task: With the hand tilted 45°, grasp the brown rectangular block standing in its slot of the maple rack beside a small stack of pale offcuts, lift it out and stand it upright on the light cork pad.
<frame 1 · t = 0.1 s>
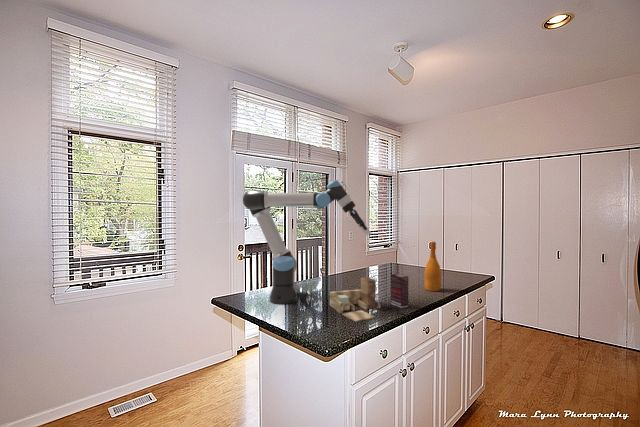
hand: (367, 233, 199), 36 cm above the counter, tool tilted 35°, fingers open, 13 cm apart
sage offcut: (343, 302, 172), point 3 cm above the counter, touching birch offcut
cork pad: (358, 316, 160), on the counter
supplement box: (399, 305, 178), on the counter
brown rectangular block: (367, 305, 177), on the counter
rack: (357, 306, 175), on the counter
wine bottle: (432, 290, 211), on the counter
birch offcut: (342, 308, 172), resting in rack, touching sage offcut
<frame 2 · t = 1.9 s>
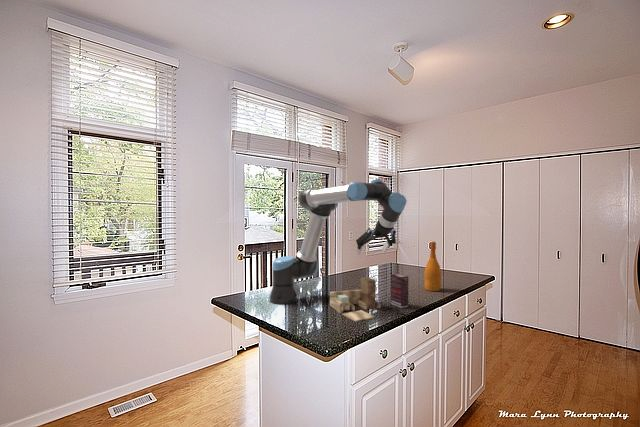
hand: (370, 252, 167), 29 cm above the counter, tool tilted 45°, fingers open, 13 cm apart
nothing on the counter moved.
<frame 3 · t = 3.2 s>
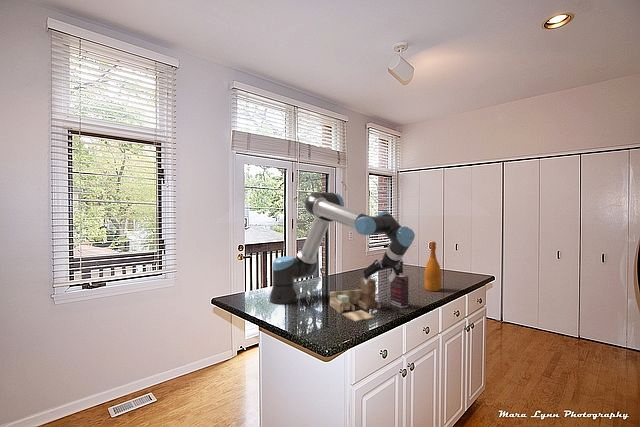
hand: (377, 281, 167), 15 cm above the counter, tool tilted 45°, fingers open, 13 cm apart
nothing on the counter moved.
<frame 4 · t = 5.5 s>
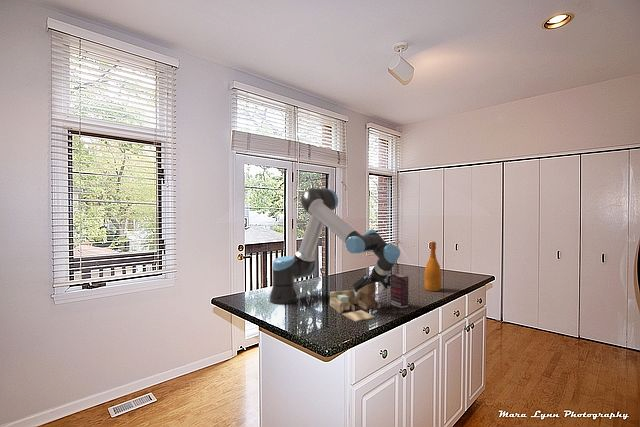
hand: (367, 293, 178), 6 cm above the counter, tool tilted 45°, fingers open, 13 cm apart
nothing on the counter moved.
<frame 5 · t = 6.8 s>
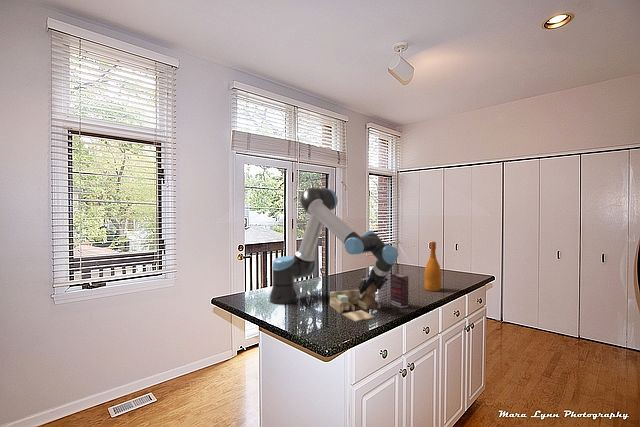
hand: (364, 295, 180), 4 cm above the counter, tool tilted 45°, fingers closed on brown rectangular block, 4 cm apart
brown rectangular block: (367, 305, 177), on the counter, touching gripper
everything else where it was.
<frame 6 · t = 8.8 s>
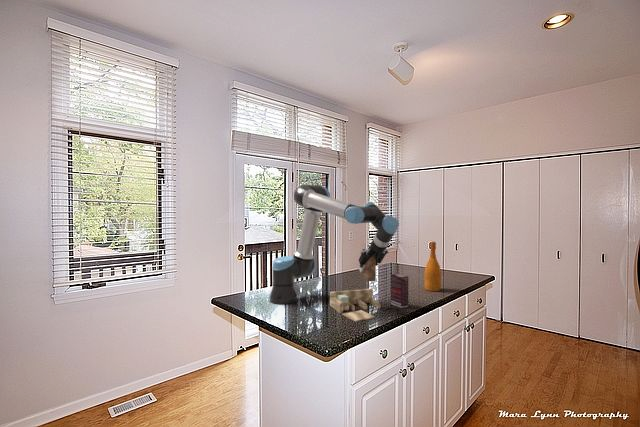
hand: (364, 270, 180), 18 cm above the counter, tool tilted 45°, fingers closed on brown rectangular block, 4 cm apart
brown rectangular block: (368, 279, 176), point 14 cm above the counter, touching gripper
everything else where it was.
when the fingers open (6 cm above the counter, at t = 12.6 s): brown rectangular block drops 1 cm, resting on cork pad.
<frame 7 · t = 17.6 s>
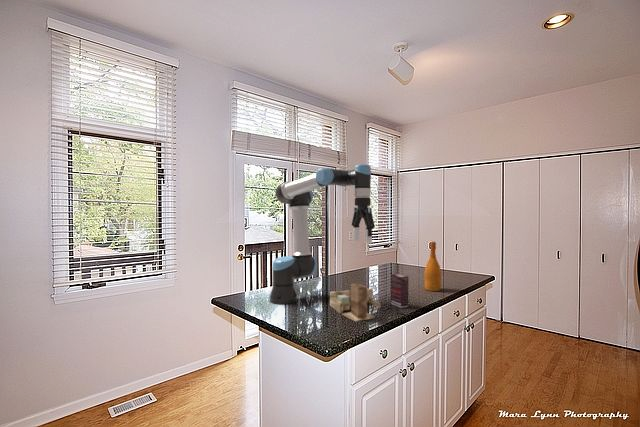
hand: (362, 242, 162), 35 cm above the counter, tool pointing down, fingers open, 13 cm apart
brown rectangular block: (358, 315, 160), point 1 cm above the counter, touching cork pad
everything else where it was.
at the end: brown rectangular block 0.1 cm from the cork pad (horizontally); brown rectangular block tilted 0°; the gripper is holding nothing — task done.
